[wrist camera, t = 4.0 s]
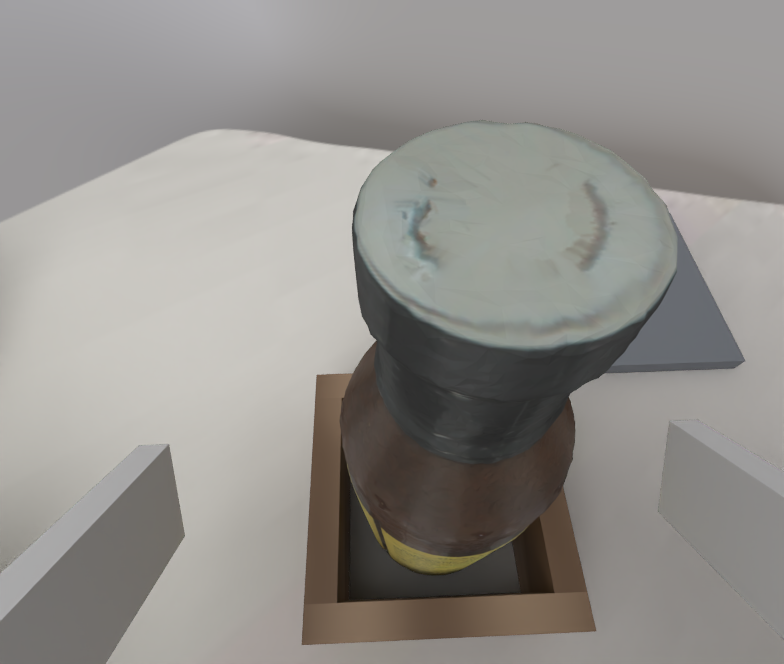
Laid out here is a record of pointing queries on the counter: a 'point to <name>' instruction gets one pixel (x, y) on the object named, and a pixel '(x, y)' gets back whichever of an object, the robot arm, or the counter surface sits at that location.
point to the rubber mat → (682, 328)
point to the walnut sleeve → (435, 613)
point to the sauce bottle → (489, 326)
